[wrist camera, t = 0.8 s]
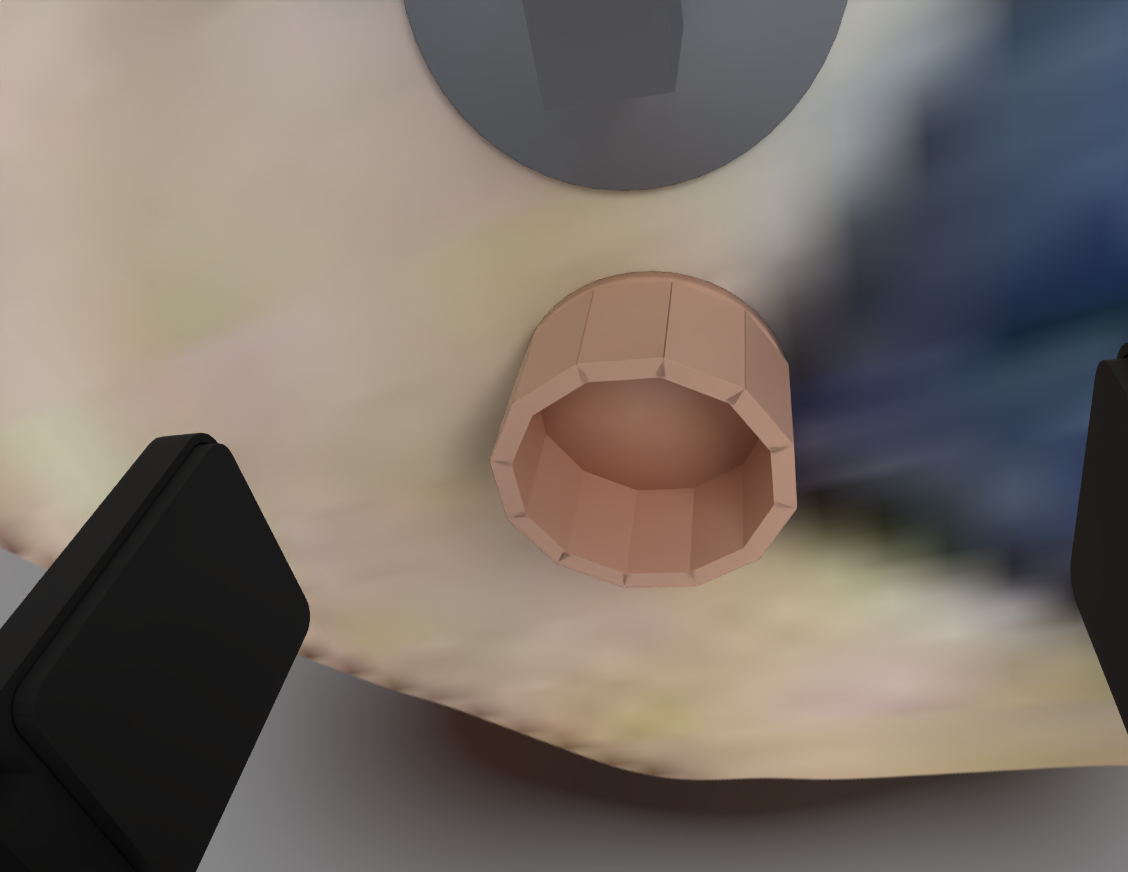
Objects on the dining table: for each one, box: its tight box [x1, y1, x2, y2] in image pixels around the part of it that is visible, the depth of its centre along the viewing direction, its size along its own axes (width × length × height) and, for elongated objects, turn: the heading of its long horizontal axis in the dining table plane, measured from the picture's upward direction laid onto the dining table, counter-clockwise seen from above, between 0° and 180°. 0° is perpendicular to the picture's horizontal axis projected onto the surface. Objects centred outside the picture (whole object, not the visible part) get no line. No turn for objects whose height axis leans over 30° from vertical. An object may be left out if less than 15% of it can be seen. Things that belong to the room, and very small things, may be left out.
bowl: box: [490, 271, 797, 587], centre depth 37 cm, size 11×11×6 cm
